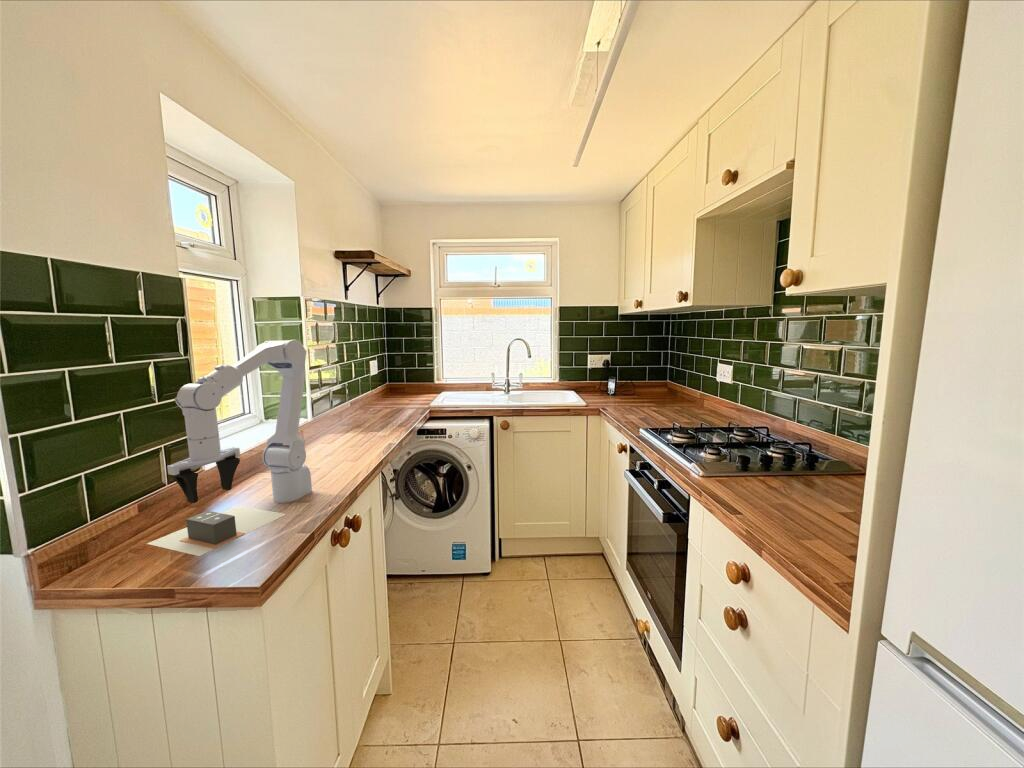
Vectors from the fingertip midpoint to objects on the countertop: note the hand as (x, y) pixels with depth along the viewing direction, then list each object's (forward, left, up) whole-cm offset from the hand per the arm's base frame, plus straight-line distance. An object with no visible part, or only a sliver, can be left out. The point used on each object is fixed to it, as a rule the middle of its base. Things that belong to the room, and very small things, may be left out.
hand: (210, 495), depth 95 cm
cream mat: (-2, -1, -9) cm, 10 cm away
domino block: (+2, +2, -9) cm, 9 cm away
